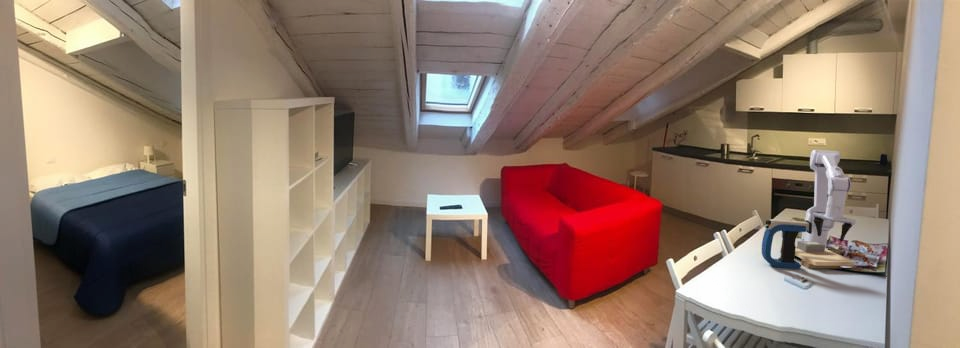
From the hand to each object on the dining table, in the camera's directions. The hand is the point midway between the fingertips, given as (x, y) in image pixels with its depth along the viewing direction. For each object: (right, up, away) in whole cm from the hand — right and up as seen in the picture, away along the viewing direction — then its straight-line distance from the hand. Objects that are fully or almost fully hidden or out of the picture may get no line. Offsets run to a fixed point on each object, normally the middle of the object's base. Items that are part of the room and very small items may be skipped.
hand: (830, 238), depth 189 cm
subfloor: (-6, -10, 0) cm, 11 cm away
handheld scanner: (-24, -11, -6) cm, 27 cm away
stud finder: (-6, -6, +3) cm, 9 cm away
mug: (+11, -4, +32) cm, 35 cm away
